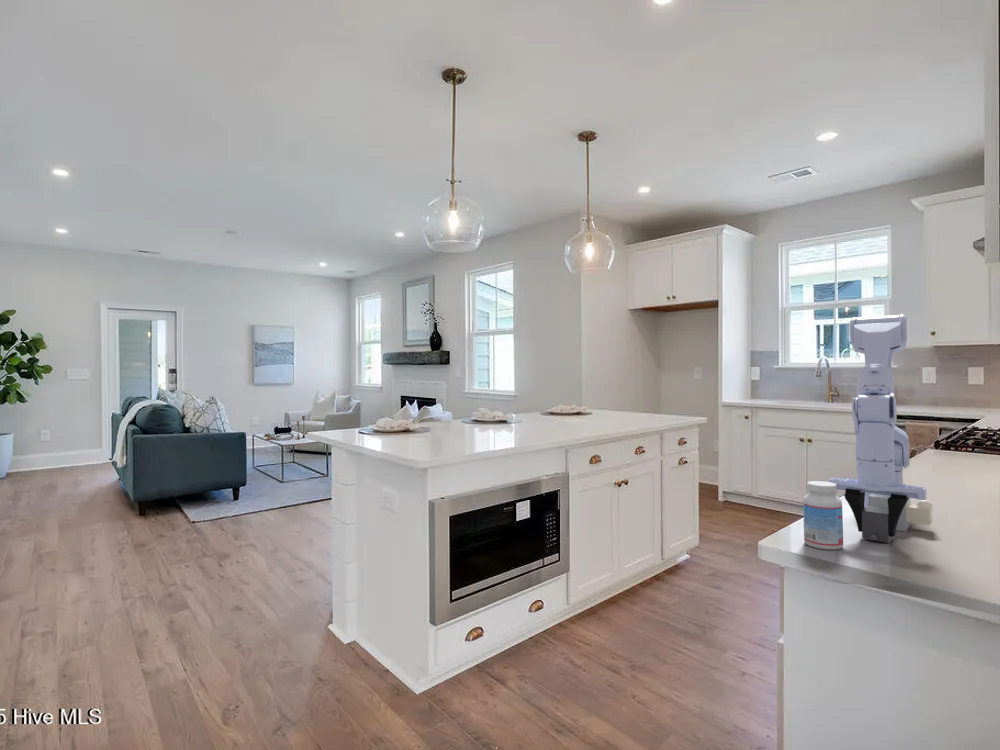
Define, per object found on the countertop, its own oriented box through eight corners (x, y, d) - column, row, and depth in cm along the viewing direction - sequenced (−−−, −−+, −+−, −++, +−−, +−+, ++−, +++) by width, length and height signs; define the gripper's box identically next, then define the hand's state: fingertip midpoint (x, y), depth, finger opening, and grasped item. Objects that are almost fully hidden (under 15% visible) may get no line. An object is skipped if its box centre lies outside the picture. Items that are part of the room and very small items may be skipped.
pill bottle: (849, 551, 93) (848, 487, 93) (811, 550, 94) (809, 486, 94) (834, 540, 99) (833, 480, 99) (799, 539, 100) (797, 479, 100)
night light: (909, 518, 106) (909, 496, 106) (933, 522, 104) (933, 499, 104) (907, 522, 104) (906, 499, 104) (931, 525, 101) (931, 502, 101)
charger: (870, 529, 104) (870, 502, 104) (896, 533, 101) (895, 506, 101) (860, 540, 97) (859, 512, 97) (886, 545, 95) (886, 516, 95)
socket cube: (875, 519, 112) (874, 490, 112) (910, 524, 107) (910, 494, 107) (868, 525, 107) (868, 495, 107) (906, 531, 103) (905, 500, 103)
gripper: (824, 458, 100) (825, 530, 100) (921, 466, 90) (923, 546, 90) (834, 453, 105) (835, 522, 105) (927, 461, 95) (929, 536, 95)
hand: (876, 532), depth 98 cm, fingers closed on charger, 4 cm apart
